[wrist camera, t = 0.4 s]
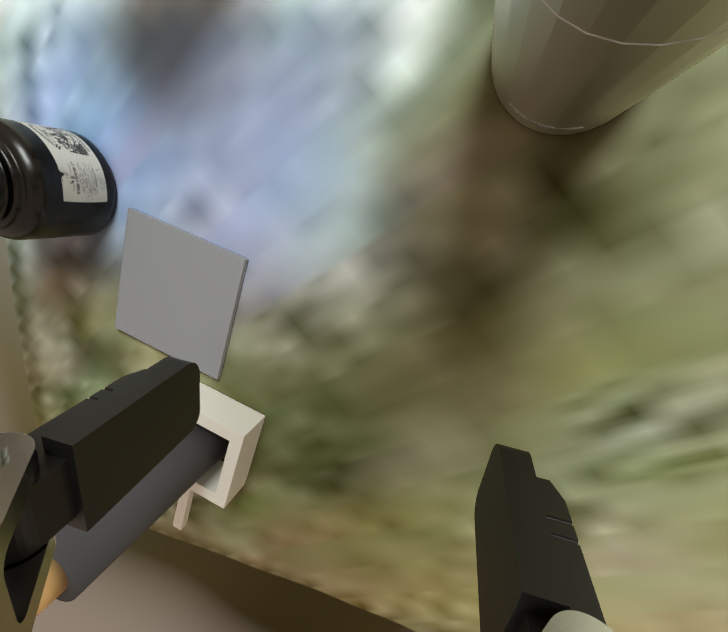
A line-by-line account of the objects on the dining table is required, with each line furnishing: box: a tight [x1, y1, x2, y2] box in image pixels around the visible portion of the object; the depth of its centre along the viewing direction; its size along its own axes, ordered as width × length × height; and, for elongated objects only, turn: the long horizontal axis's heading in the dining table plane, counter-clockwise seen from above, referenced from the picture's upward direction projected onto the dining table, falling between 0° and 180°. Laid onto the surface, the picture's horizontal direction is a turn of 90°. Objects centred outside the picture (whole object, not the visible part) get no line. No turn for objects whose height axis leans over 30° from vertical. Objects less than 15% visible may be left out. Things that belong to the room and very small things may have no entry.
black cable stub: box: [36, 423, 229, 616], centre depth 30 cm, size 4×4×18 cm
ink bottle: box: [0, 118, 116, 240], centre depth 29 cm, size 10×9×12 cm
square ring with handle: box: [173, 382, 265, 530], centre depth 38 cm, size 15×9×4 cm, turn 160°
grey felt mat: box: [115, 208, 248, 379], centre depth 35 cm, size 12×12×1 cm
